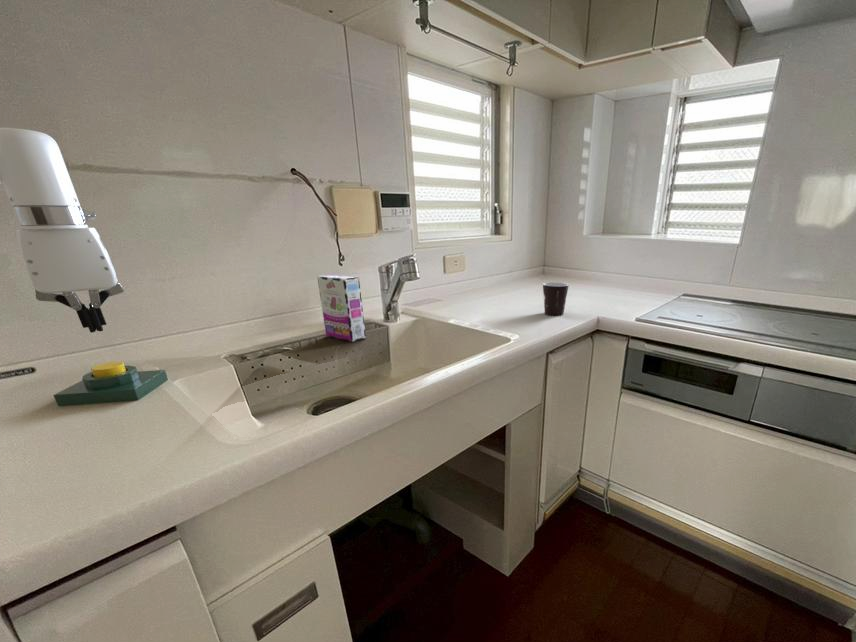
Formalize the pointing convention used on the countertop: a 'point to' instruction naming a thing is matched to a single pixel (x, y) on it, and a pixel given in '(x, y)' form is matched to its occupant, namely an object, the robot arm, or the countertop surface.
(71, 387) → the control box
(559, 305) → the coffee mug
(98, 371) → the button
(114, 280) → the robot arm
